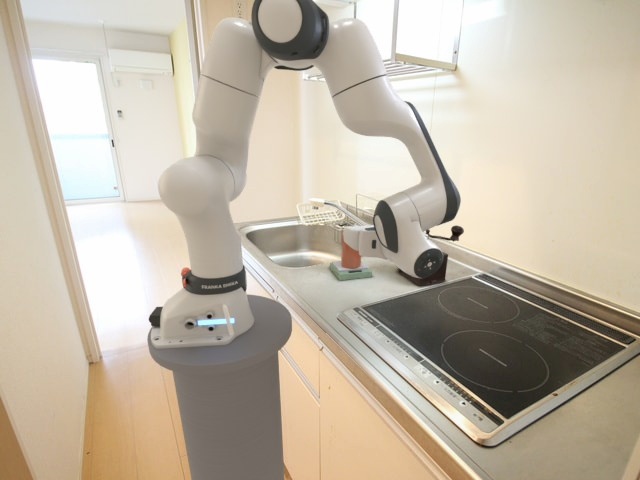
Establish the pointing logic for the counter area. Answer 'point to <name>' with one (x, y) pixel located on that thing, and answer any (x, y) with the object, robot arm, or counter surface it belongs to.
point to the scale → (350, 271)
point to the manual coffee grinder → (441, 272)
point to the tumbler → (349, 256)
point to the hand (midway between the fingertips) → (371, 226)
